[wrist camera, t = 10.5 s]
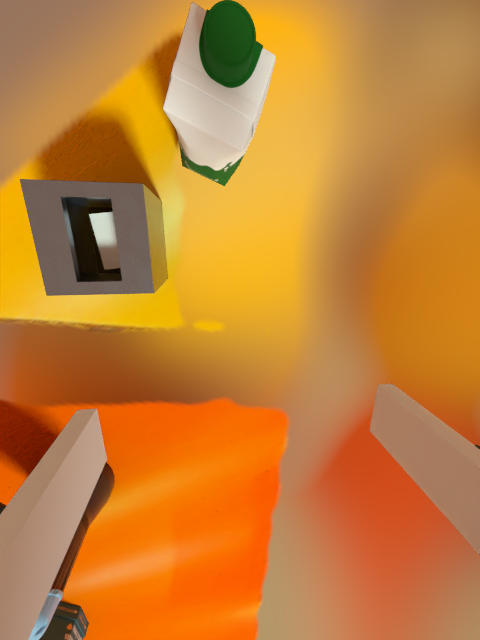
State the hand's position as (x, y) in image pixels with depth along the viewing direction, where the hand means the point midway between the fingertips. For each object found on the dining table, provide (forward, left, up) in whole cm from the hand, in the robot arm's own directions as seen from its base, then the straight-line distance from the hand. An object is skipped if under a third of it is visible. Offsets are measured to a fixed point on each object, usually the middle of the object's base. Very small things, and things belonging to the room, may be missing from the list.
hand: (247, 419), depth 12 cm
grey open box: (+8, +14, -35) cm, 38 cm away
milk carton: (+21, 0, -35) cm, 41 cm away
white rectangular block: (+8, +14, -35) cm, 38 cm away
